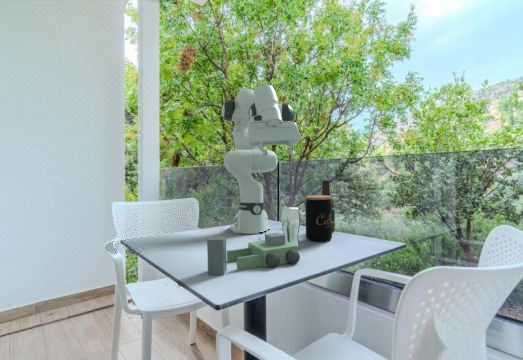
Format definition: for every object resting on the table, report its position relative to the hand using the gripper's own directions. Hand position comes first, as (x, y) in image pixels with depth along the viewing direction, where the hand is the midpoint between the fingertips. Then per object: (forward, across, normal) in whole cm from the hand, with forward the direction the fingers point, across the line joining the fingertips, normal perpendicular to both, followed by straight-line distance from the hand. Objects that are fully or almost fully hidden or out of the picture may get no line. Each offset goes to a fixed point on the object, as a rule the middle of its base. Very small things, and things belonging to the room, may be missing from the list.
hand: (277, 154), depth 114 cm
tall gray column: (+38, +27, +3) cm, 47 cm away
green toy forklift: (+36, +12, -4) cm, 38 cm away
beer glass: (+32, -3, -15) cm, 36 cm away
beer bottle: (+24, -30, -37) cm, 53 cm away
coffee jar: (+29, -19, -24) cm, 42 cm away
